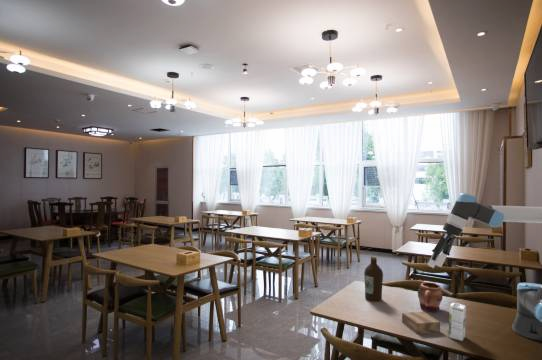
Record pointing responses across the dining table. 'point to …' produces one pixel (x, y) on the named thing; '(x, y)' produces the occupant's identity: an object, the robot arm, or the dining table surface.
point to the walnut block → (421, 322)
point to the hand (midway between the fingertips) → (434, 266)
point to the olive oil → (373, 281)
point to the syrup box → (457, 321)
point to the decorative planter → (430, 296)
